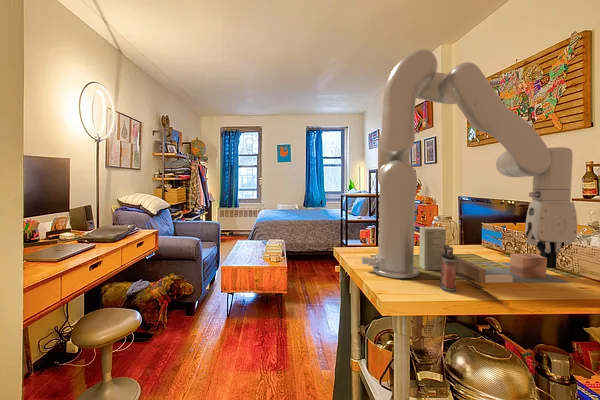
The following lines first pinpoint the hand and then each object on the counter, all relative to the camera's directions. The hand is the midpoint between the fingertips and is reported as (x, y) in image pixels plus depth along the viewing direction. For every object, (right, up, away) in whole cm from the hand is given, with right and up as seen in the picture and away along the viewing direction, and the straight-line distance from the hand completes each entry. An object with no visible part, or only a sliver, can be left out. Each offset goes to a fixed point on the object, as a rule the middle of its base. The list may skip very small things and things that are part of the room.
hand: (547, 266), depth 77 cm
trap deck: (-10, -3, +3) cm, 11 cm away
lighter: (-28, -4, -4) cm, 29 cm away
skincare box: (-25, -3, +12) cm, 28 cm away
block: (-5, -2, 0) cm, 6 cm away
